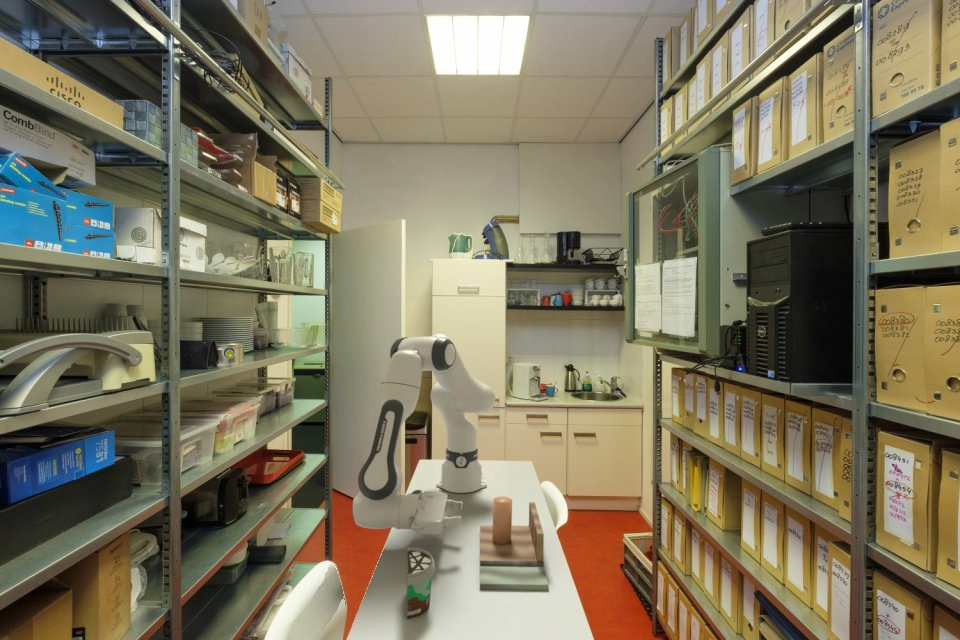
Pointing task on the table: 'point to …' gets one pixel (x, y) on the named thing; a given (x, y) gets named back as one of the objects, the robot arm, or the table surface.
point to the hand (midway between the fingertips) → (462, 512)
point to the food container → (418, 581)
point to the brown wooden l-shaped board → (514, 557)
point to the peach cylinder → (502, 520)
